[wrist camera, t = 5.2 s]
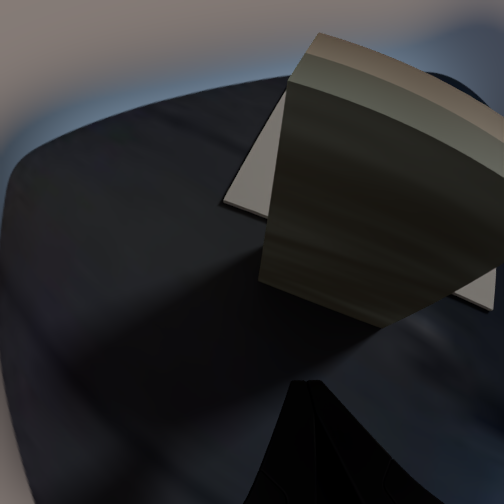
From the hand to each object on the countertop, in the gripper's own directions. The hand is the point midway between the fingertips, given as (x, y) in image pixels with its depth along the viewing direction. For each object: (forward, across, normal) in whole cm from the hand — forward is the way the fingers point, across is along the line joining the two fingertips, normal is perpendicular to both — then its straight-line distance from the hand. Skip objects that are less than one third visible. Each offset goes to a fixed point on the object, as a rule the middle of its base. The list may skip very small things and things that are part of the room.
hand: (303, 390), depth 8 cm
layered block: (+8, -3, +1) cm, 9 cm away
